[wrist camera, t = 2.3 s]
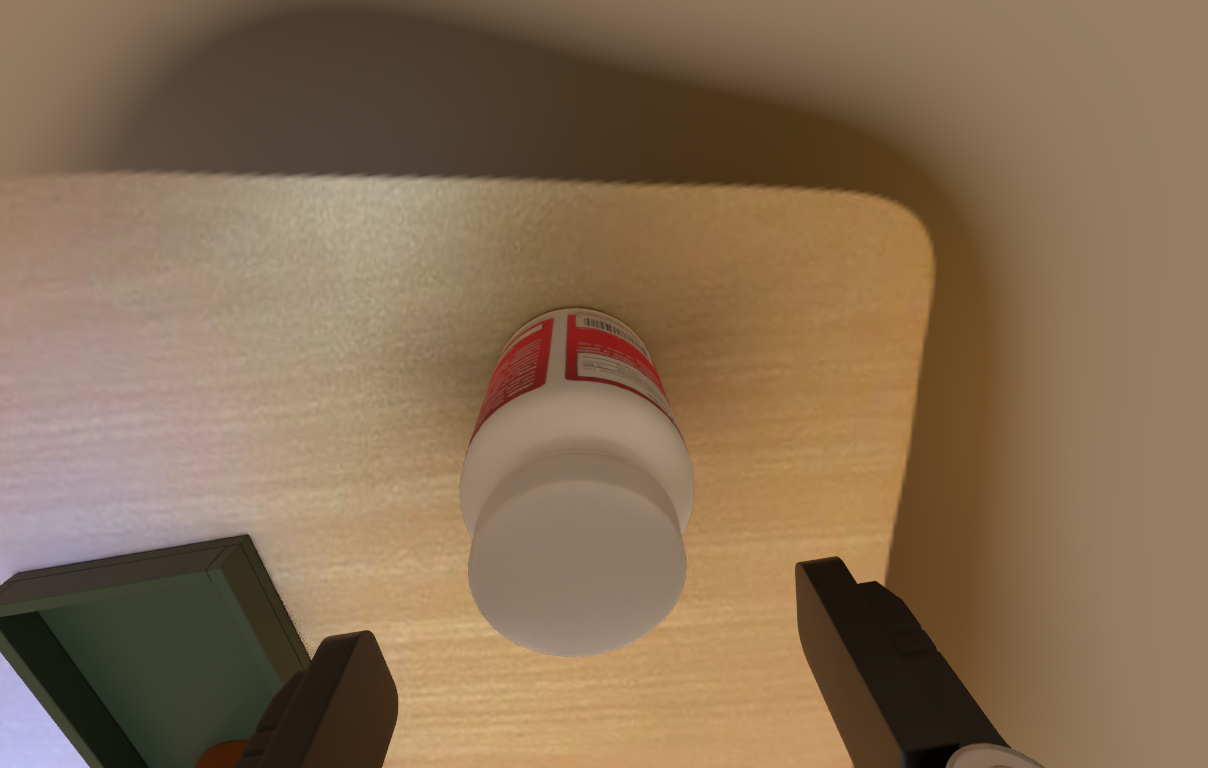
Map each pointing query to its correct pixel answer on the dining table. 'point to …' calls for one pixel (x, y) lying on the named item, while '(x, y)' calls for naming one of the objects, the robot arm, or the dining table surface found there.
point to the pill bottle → (576, 489)
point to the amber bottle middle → (222, 755)
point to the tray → (152, 650)
